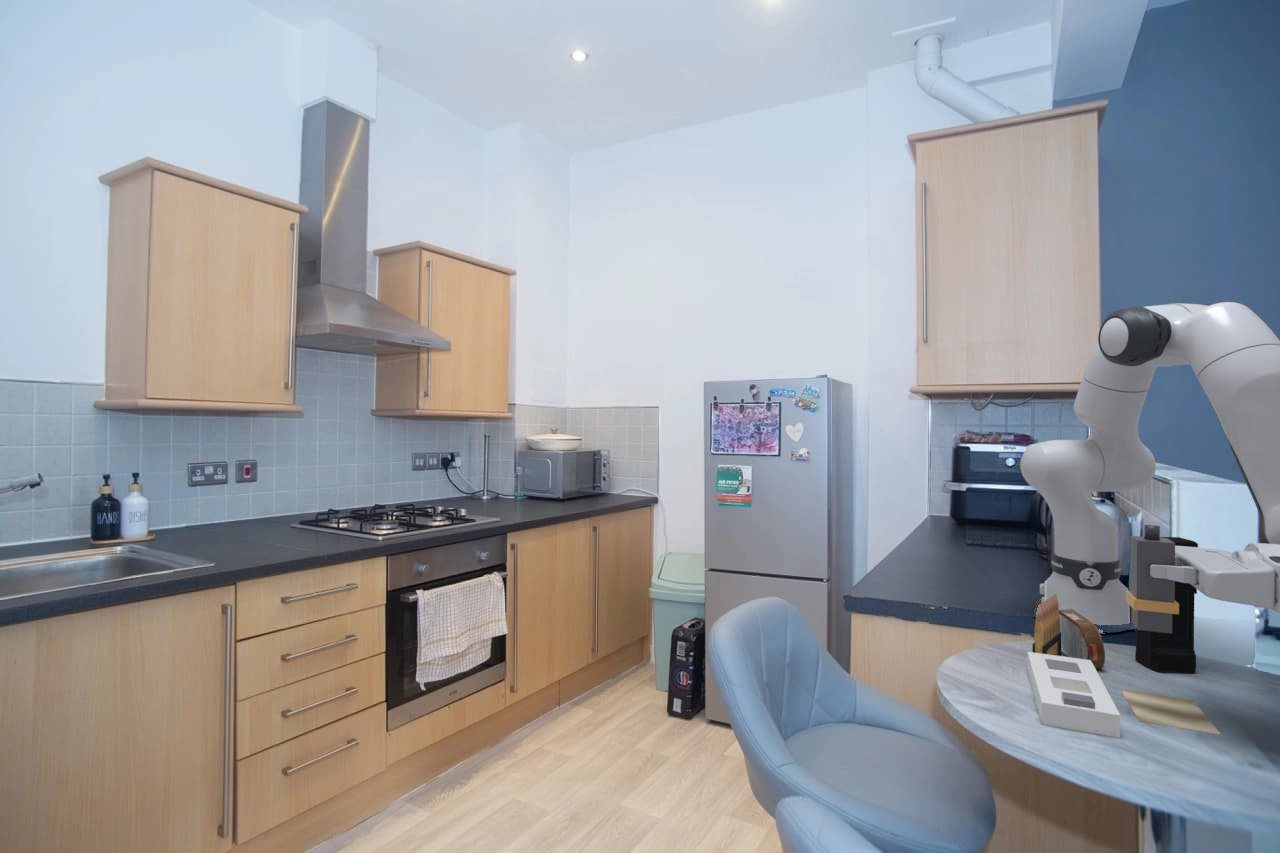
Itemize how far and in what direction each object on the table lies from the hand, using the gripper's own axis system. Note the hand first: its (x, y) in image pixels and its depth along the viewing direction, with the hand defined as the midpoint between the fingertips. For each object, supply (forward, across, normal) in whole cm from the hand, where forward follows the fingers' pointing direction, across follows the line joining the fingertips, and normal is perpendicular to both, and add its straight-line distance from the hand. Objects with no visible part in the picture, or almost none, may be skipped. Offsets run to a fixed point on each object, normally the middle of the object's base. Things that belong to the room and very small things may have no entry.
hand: (1144, 565), depth 97 cm
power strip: (+10, +1, +22) cm, 24 cm away
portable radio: (-8, -25, +22) cm, 34 cm away
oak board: (-3, -1, +22) cm, 22 cm away
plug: (-1, 0, +9) cm, 9 cm away
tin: (+6, -21, +22) cm, 31 cm away
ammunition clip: (+11, -16, +22) cm, 29 cm away
